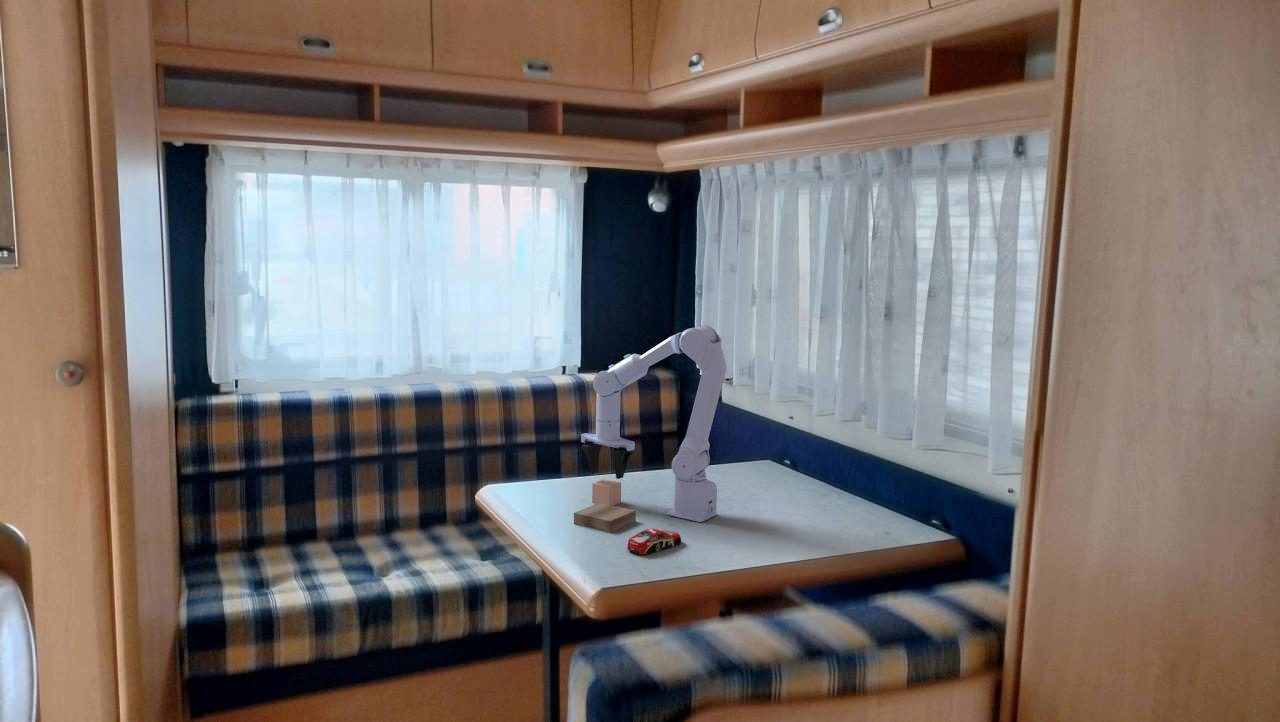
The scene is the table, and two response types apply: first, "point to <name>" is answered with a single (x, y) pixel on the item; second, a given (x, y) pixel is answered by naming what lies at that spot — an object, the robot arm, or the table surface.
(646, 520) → the table surface
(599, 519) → the walnut base block
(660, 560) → the table surface
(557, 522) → the table surface
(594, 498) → the terracotta cube
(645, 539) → the race car
